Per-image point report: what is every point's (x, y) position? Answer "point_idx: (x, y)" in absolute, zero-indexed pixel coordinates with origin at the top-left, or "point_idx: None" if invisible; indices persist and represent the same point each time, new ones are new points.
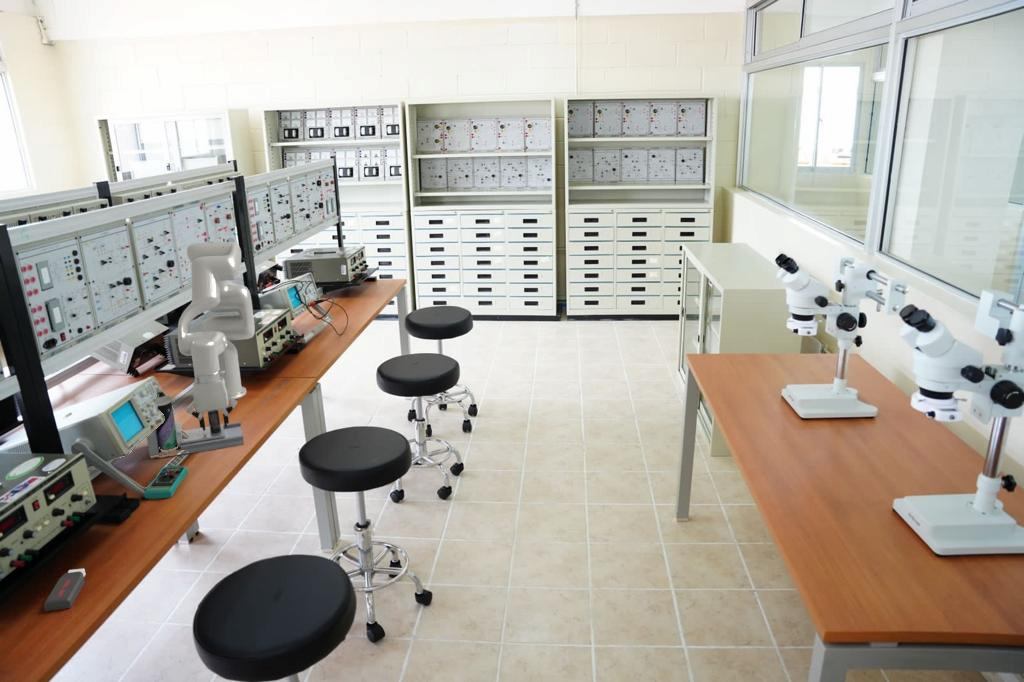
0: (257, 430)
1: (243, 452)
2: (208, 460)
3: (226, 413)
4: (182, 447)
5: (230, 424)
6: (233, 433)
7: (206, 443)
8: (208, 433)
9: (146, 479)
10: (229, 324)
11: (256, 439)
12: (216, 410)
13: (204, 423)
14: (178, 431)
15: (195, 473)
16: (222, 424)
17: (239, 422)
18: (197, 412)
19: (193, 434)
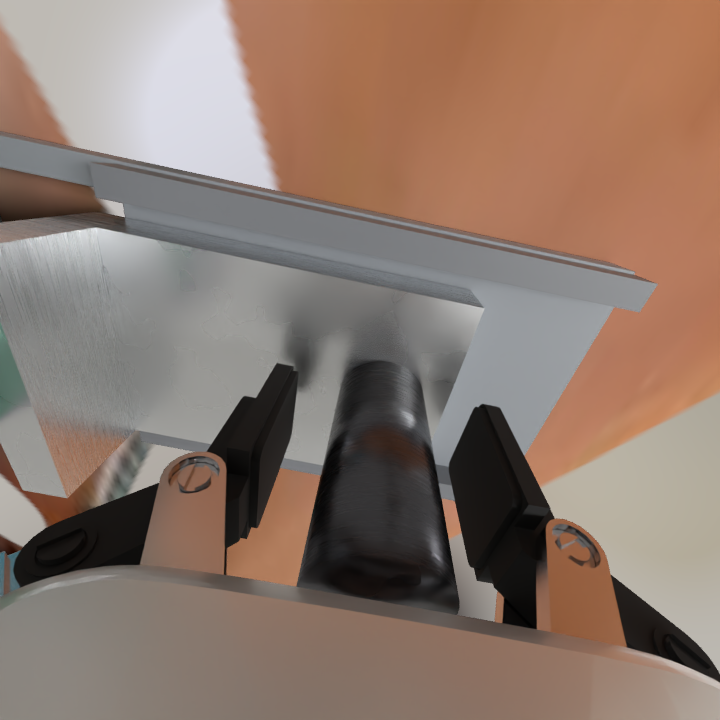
0: (674, 358)
1: (451, 528)
2: (294, 511)
3: (524, 619)
4: (153, 439)
5: (552, 289)
6: (498, 390)
7: (294, 465)
8: (319, 410)
9: (56, 512)
10: None
11: (578, 459)
12: (436, 601)
13: (274, 470)
14: (42, 479)
15: (236, 559)
16: (477, 310)
17: (641, 295)
18: (129, 555)
19: (207, 363)
